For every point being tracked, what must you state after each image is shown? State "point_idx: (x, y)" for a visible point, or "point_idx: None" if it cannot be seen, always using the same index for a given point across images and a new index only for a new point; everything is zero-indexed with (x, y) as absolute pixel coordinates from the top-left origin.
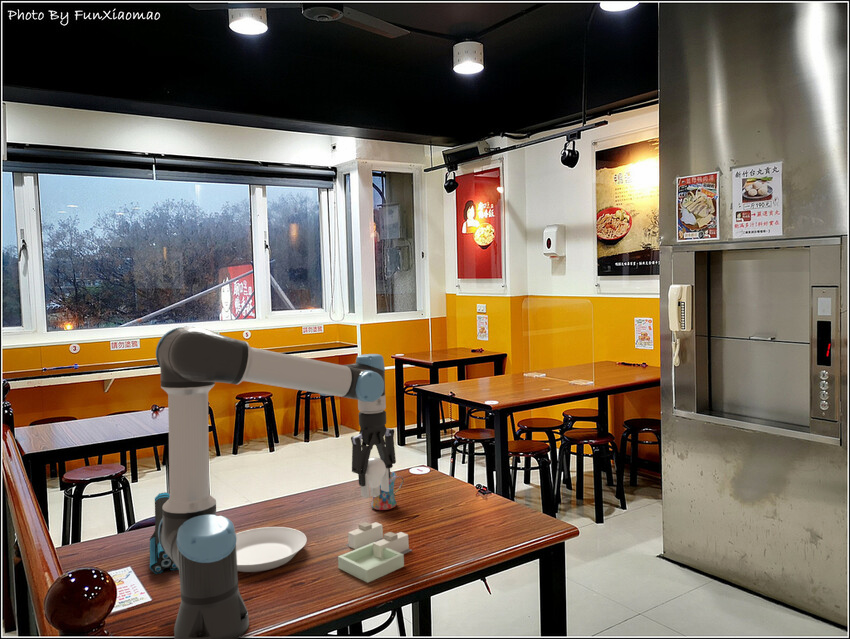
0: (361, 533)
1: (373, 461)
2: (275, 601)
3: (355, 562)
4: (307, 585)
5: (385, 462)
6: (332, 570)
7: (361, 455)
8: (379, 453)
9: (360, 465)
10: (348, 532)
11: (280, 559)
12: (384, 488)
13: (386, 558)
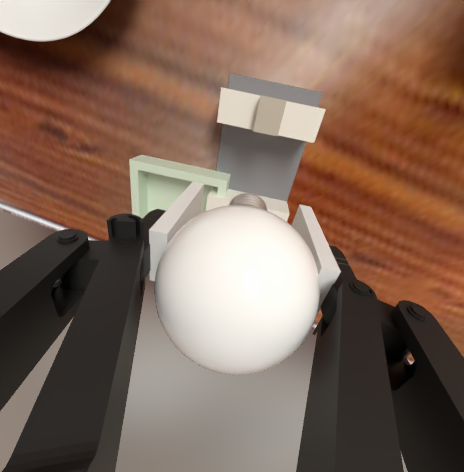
0: (240, 126)
1: (186, 355)
2: (2, 145)
3: (138, 208)
4: (66, 152)
5: (320, 337)
6: (128, 150)
7: (64, 357)
8: (332, 380)
9: (63, 322)
10: (222, 89)
11: (14, 34)
12: None
13: None
